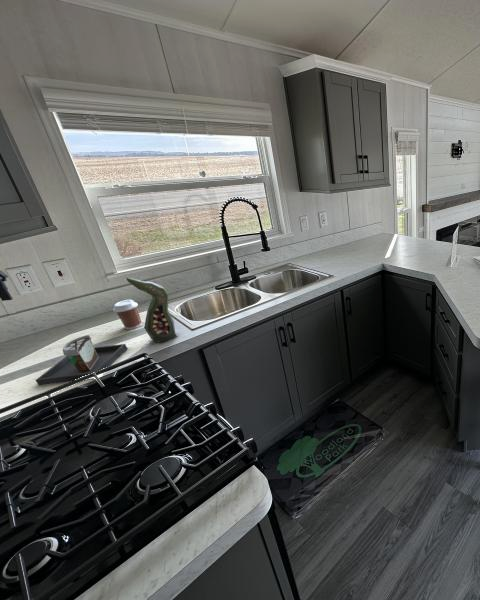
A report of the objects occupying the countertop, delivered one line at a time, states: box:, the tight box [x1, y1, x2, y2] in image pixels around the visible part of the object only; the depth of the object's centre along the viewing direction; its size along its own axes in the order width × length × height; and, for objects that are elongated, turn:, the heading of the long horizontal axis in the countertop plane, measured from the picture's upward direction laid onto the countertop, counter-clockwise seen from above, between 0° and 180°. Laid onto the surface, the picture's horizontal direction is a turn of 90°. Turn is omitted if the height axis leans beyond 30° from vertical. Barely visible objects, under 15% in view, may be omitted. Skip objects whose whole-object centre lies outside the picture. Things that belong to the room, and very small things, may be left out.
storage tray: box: [35, 343, 128, 386], centre depth 126 cm, size 20×19×2 cm
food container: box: [62, 334, 99, 371], centre depth 123 cm, size 12×6×10 cm, turn 25°
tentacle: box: [125, 277, 177, 343], centre depth 138 cm, size 9×12×30 cm
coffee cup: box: [112, 299, 143, 330], centre depth 152 cm, size 9×9×12 cm
